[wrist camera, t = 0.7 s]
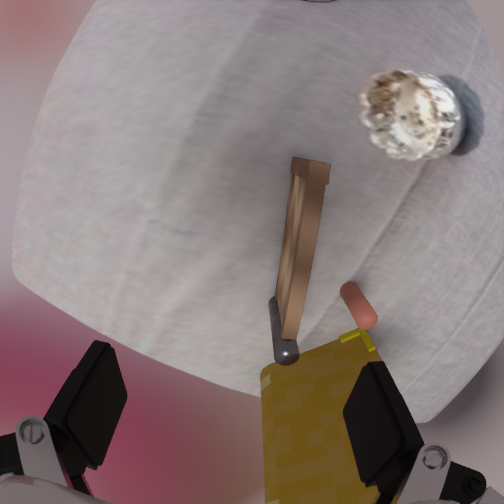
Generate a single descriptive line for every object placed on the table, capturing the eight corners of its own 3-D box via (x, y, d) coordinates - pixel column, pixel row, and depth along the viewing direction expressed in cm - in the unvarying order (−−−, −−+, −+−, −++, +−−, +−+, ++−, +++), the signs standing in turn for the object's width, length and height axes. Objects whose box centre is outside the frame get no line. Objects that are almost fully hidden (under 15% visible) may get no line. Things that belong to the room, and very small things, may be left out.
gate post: (269, 294, 34) (276, 347, 25) (289, 296, 34) (301, 347, 25) (267, 311, 35) (272, 365, 26) (286, 312, 35) (296, 366, 26)
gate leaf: (292, 157, 28) (310, 160, 19) (307, 159, 28) (331, 163, 20) (273, 293, 34) (281, 341, 25) (286, 294, 34) (297, 341, 25)
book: (363, 325, 36) (439, 479, 13) (371, 356, 38) (431, 493, 15) (252, 367, 38) (254, 532, 15) (270, 393, 41) (279, 538, 17)
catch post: (342, 281, 34) (361, 311, 27) (359, 282, 34) (380, 311, 27) (338, 298, 34) (354, 329, 28) (355, 298, 35) (373, 329, 28)
